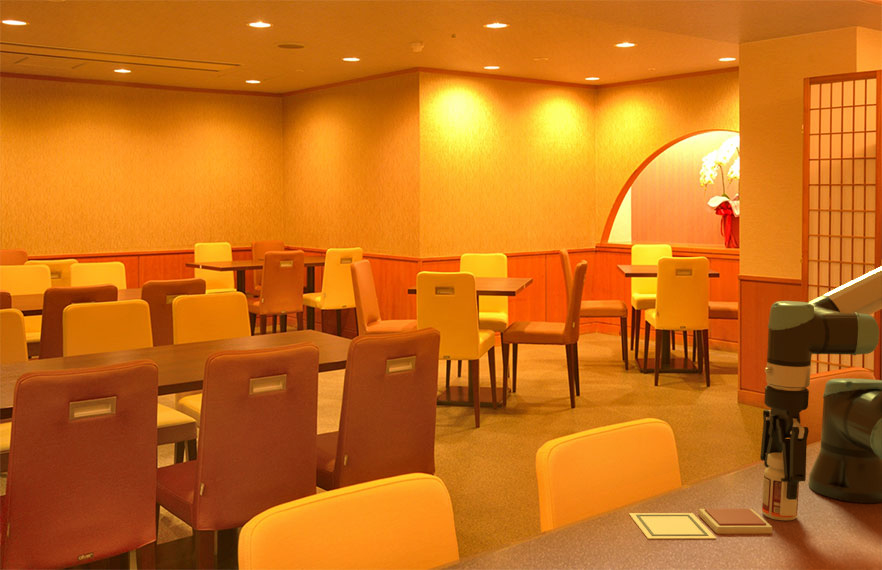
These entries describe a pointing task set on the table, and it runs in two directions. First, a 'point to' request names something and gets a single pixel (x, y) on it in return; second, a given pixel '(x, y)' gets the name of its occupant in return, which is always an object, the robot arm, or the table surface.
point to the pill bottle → (774, 488)
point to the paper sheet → (671, 526)
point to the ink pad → (735, 521)
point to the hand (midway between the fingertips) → (779, 508)
